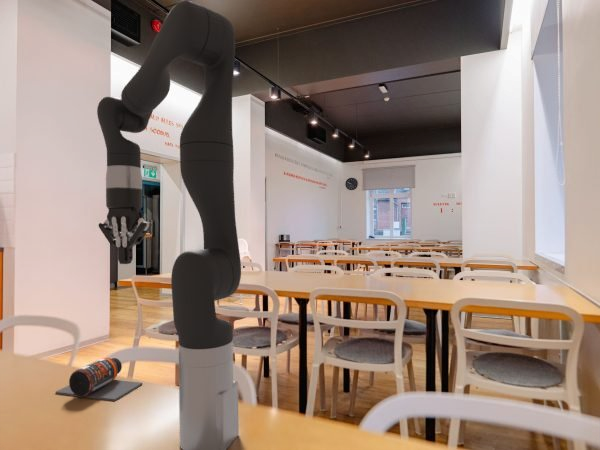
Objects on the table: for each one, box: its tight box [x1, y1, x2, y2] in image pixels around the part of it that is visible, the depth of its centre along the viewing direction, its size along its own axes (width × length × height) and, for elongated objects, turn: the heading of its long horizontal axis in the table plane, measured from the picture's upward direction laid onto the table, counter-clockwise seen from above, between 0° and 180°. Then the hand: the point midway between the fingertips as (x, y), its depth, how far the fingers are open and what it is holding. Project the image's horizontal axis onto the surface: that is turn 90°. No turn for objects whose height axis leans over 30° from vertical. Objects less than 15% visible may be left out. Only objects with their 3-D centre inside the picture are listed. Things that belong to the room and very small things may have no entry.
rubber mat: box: [55, 379, 143, 402], centre depth 90 cm, size 16×9×1 cm, turn 75°
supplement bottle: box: [68, 357, 123, 398], centre depth 90 cm, size 6×6×11 cm
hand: (125, 263), depth 89 cm, fingers closed
